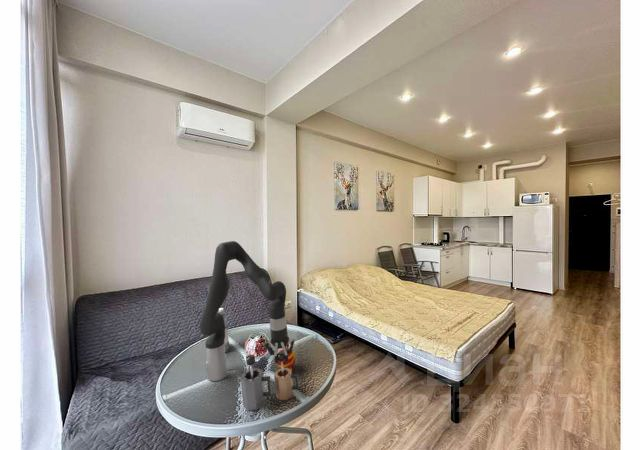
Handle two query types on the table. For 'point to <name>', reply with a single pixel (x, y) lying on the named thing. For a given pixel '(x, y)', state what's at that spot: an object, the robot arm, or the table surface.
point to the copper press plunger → (281, 357)
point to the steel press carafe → (254, 389)
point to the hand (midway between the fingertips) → (282, 362)
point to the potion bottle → (290, 360)
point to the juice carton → (226, 340)
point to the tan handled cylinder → (285, 384)
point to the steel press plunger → (250, 363)
